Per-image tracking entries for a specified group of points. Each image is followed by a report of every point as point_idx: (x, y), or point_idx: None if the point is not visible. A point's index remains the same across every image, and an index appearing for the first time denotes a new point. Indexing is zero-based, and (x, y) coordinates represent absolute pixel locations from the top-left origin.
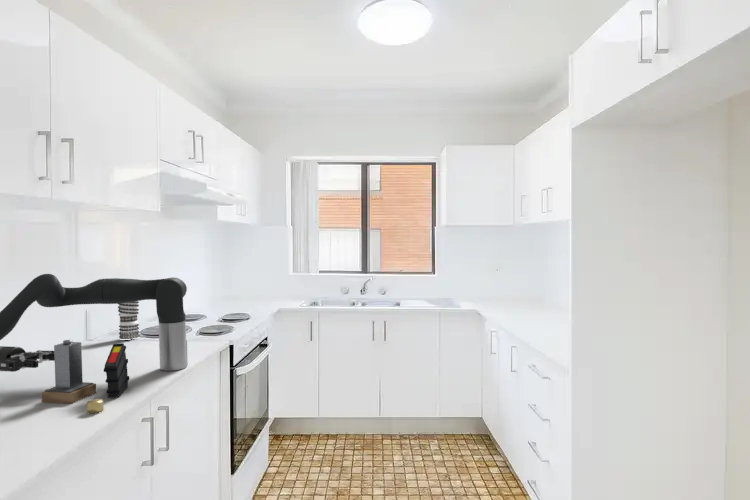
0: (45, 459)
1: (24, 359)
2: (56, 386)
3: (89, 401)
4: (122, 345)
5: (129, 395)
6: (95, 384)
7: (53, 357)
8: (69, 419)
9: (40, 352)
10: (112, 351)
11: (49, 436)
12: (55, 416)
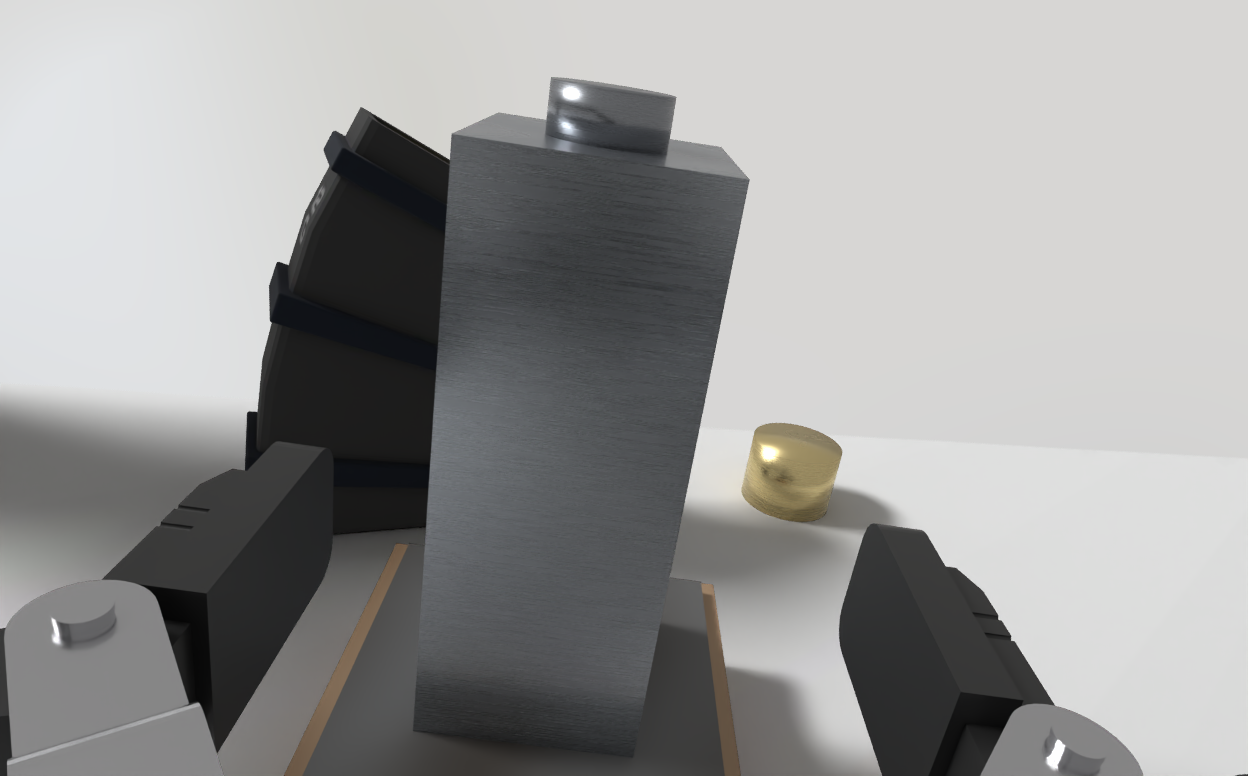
0: (1217, 469)
1: (1023, 743)
2: (638, 724)
3: (812, 458)
4: (389, 125)
5: None
6: (403, 549)
7: (275, 595)
8: (935, 548)
9: (199, 729)
10: None
11: (1124, 531)
12: None
